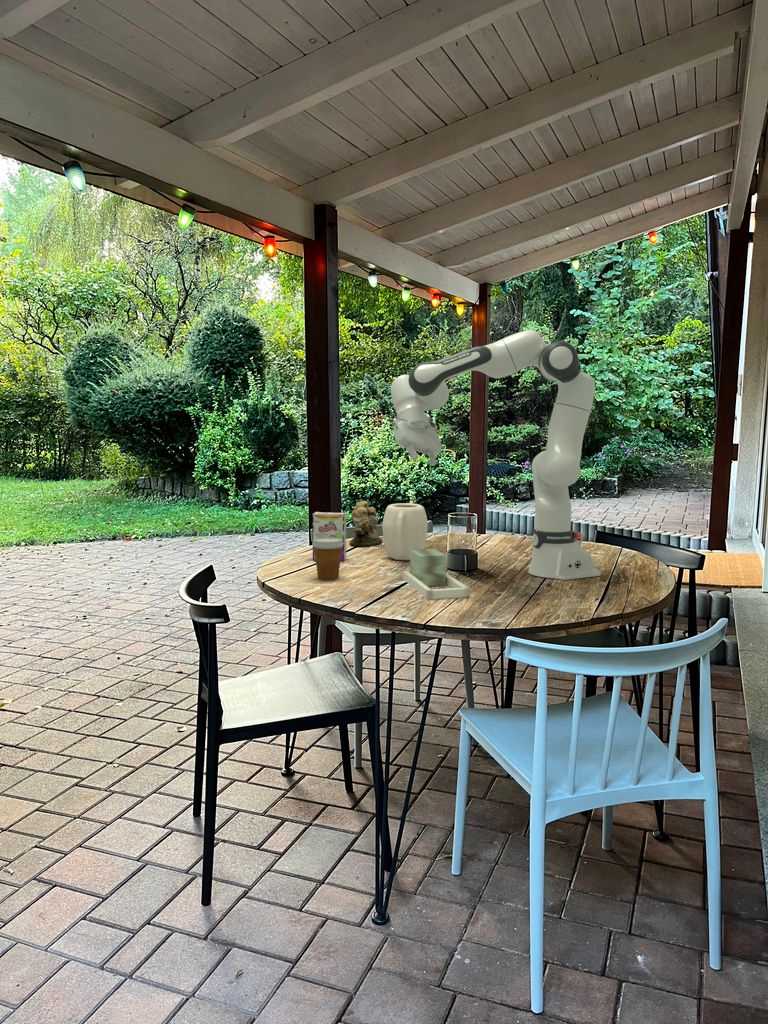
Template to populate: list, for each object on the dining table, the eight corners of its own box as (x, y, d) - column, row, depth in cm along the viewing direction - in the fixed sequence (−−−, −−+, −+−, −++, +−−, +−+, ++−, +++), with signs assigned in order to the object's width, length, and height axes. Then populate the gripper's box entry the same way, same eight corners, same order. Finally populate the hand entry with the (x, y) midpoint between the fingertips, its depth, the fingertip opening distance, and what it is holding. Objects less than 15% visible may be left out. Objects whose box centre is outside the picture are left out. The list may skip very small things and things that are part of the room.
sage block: (435, 577, 222) (435, 548, 220) (445, 585, 212) (446, 555, 211) (410, 579, 220) (410, 550, 219) (419, 586, 210) (419, 556, 209)
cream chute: (440, 577, 223) (440, 569, 223) (469, 597, 199) (469, 588, 198) (402, 579, 220) (402, 571, 220) (427, 600, 196) (427, 591, 195)
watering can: (432, 551, 266) (432, 500, 263) (421, 565, 240) (422, 509, 237) (390, 549, 269) (391, 499, 266) (376, 563, 243) (376, 508, 240)
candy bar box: (312, 561, 247) (311, 513, 245) (315, 558, 252) (314, 511, 250) (344, 561, 246) (344, 514, 244) (346, 559, 251) (346, 512, 249)
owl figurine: (372, 549, 270) (372, 504, 268) (343, 547, 274) (342, 503, 271) (387, 541, 287) (387, 498, 285) (359, 539, 291) (359, 497, 288)
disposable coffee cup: (315, 582, 216) (315, 542, 214) (310, 575, 225) (309, 537, 223) (346, 580, 218) (346, 541, 217) (340, 573, 228) (339, 536, 226)
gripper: (400, 410, 217) (411, 450, 212) (439, 425, 232) (450, 463, 228) (384, 420, 220) (395, 460, 215) (423, 434, 236) (434, 472, 231)
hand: (424, 462), depth 221 cm, fingers open, 8 cm apart
